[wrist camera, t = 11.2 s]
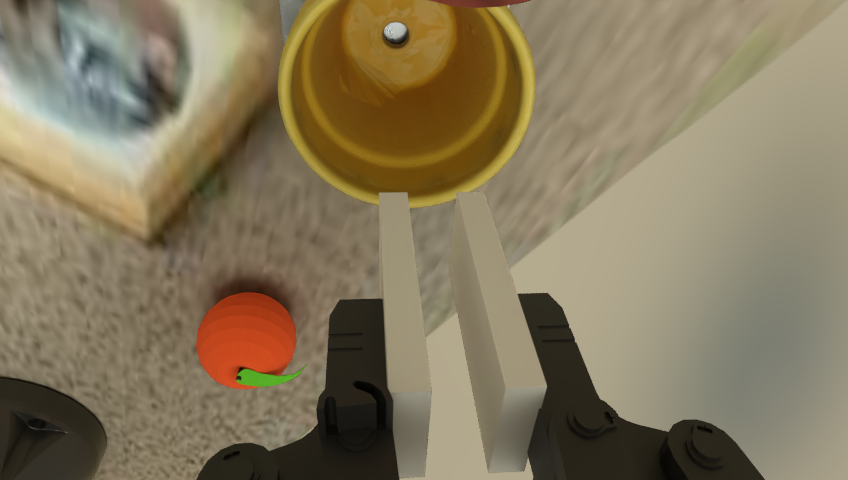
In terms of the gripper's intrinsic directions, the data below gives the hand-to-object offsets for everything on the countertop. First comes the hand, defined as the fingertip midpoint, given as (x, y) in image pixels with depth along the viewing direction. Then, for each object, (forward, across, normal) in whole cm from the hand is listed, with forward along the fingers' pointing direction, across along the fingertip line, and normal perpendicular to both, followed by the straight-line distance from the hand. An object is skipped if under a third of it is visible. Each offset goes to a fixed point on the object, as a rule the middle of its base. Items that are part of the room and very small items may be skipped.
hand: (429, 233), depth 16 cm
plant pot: (+19, 0, 0) cm, 19 cm away
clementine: (+21, +10, +22) cm, 32 cm away
